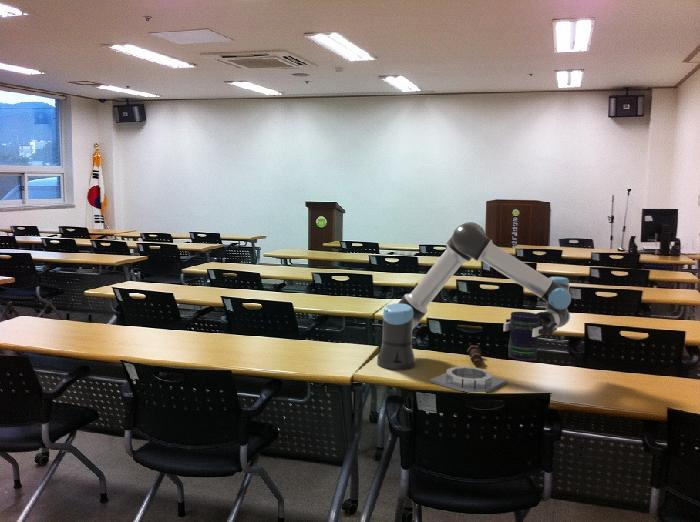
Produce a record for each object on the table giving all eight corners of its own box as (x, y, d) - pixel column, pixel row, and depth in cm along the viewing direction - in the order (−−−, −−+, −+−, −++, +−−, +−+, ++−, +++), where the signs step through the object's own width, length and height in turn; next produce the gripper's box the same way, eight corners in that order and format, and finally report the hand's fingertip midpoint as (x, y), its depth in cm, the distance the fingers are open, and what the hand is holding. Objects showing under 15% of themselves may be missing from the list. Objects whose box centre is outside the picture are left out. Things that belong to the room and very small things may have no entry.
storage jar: (502, 355, 200) (505, 313, 198) (516, 351, 207) (519, 310, 205) (528, 362, 193) (531, 318, 191) (542, 357, 200) (545, 315, 198)
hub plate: (429, 382, 205) (430, 372, 204) (458, 371, 220) (459, 361, 219) (479, 396, 192) (480, 386, 191) (506, 383, 207) (507, 373, 206)
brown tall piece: (475, 371, 226) (471, 359, 241) (486, 366, 226) (482, 354, 240) (468, 358, 226) (465, 347, 241) (480, 353, 225) (476, 342, 240)
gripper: (574, 336, 205) (549, 347, 188) (516, 325, 220) (488, 334, 203) (576, 316, 204) (551, 325, 188) (517, 306, 219) (489, 314, 202)
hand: (518, 330), depth 195 cm, fingers closed on storage jar, 10 cm apart
